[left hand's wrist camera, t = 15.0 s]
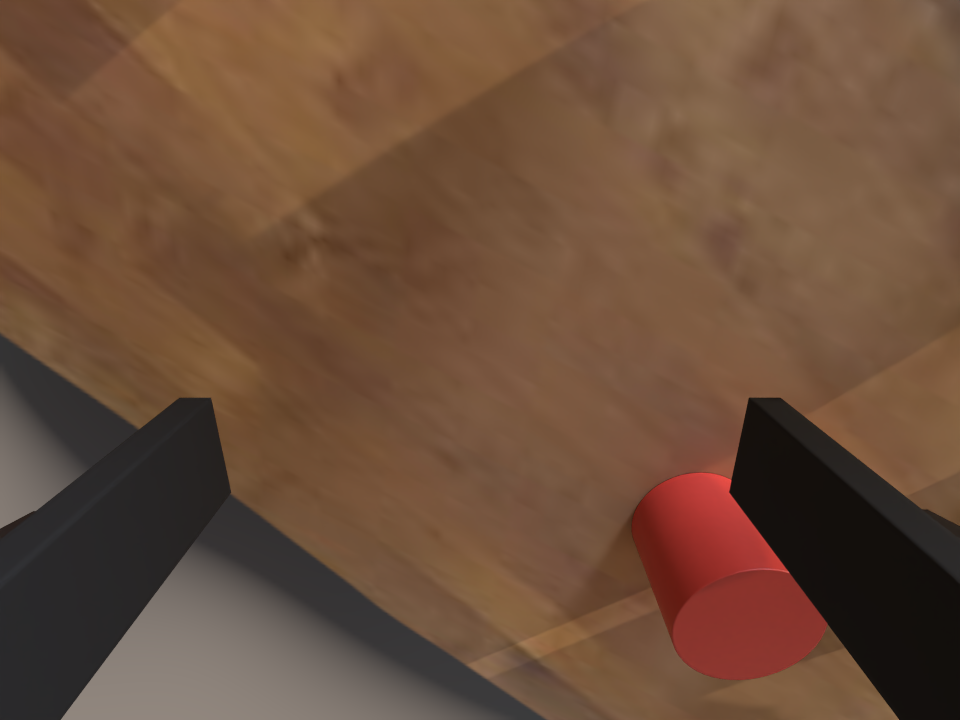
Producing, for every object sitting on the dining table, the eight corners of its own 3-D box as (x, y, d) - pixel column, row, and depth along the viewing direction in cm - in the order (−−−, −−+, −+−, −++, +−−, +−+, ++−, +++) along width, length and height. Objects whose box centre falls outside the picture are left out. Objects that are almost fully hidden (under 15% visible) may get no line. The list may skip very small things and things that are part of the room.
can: (644, 468, 36) (691, 564, 28) (767, 476, 36) (851, 575, 28) (621, 564, 39) (658, 675, 31) (734, 571, 40) (801, 684, 31)
